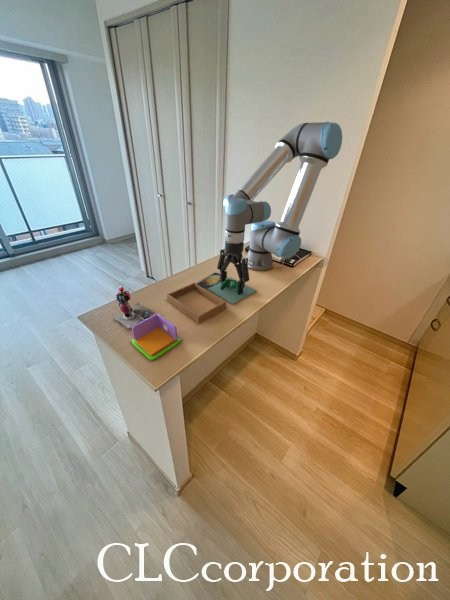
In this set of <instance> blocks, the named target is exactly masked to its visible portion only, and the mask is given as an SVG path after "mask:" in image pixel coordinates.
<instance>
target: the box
mask: <svg viewBox="0 0 450 600" xmlns="http://www.w3.org/2000/svg"><path fill="white" fill-rule="evenodd" d="M194 290H195V291H196V292H197V293H199V294H201V295H203V296H204V297H206V298H207V299H208V300H210V301H212V302H214V303H215V304H217V305H215V306H214V307H212V308H210V309H208V310H206V311H204V312H203V313H201V314H199V315H198V314H197V313H196V312H194V311H193V310H191V309H190V308H188V307H187V306H186V305H184V304H183V303H182V302H180V301H179V300H177V299H176V298H178V297H180V296H182V295H185V294H187V293H189V292H191V291H194ZM166 300H167V301H168V302H169V303H170V304H171V305H173V306H174V307H176V308H177V309H178V310H180V311H181V312H183V313H184V314H185V315H186V316H188V317H189V318H190V319H192V320H193V321H195V322H196V323H197V324H201V323H202V322H204V321H206V320H207V319H209V318H211V317H213V316H214V315H216V314H218V313H219V312H221V311H223V310H226V309H227V301H226V300H225V299H223V298H221V297H220V296H218V295H216V294H215V293H213V292H211V291H210V290H208V289H207V290H206V289H204V288H202V287H201V286H199V285H197V283H195V282H192V283H190V284H188V285H185V286H183V287H181V288H178V289H176V290H174V291H171V292H169V293H166Z"/></svg>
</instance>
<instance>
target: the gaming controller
mask: <svg viewBox="0 0 450 600" xmlns="http://www.w3.org/2000/svg"><path fill="white" fill-rule="evenodd" d="M238 281H240V279H237V280H236V279H234V280H231V279H229V278H228V277H227V278H226V279H225V280H224V281H223V283H222V284H221V286H220V289H221V290H223V289H225V288H226V287H230V288H234V289H236V291H237V293H238Z"/></svg>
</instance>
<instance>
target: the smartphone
mask: <svg viewBox="0 0 450 600" xmlns="http://www.w3.org/2000/svg"><path fill="white" fill-rule="evenodd" d="M219 283H221V273H218V272H213V273H212V274H210V275H209V276H207V277H205V278H203V279H202V280H201V281H199V282H197V283H196V284H197V285H199V286H201V287H202V288H204V289H206V290H207V291H208V288H210V287H212V286H214V285H216V284H219Z"/></svg>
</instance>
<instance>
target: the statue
mask: <svg viewBox="0 0 450 600" xmlns="http://www.w3.org/2000/svg"><path fill="white" fill-rule="evenodd" d="M118 291H119V292H117V293H116V294H115V296H116V300H117V301H118V307H119V309H120V311H121V312H120V313H118V314H117V315H115V316H113V319H114V320H115V321H116V322H117V321H118V322H119V323H121V325H122V326H124V327H125V328H127V329H128V330H129V331H130V330H132V327H133V326H134V325H136V324H138V323H140V322H142V321H144V320H146V319H147V318H149V317H151V316H153V315H154V313H155V312H154V311H152V310H151V309H149V308H147V307H146V306H144V305H142V304H141V303H140V302H137V303H135V304H133V306H131V305H130V303H129V301H130V300H131V299H132V297H131V293H130V291H129V290H126V289H124V287H123V286H119V287H118Z"/></svg>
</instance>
